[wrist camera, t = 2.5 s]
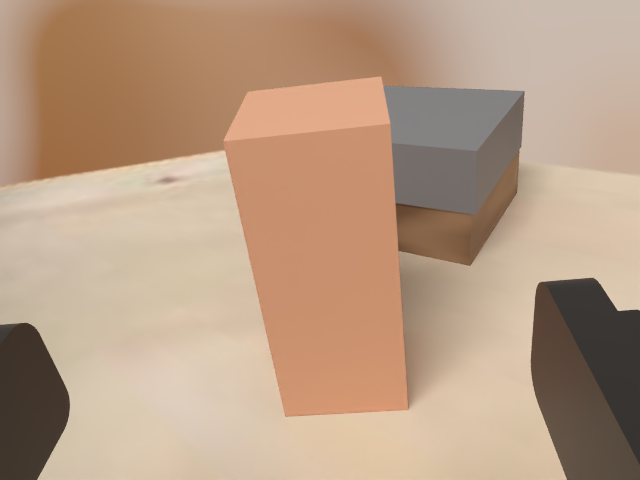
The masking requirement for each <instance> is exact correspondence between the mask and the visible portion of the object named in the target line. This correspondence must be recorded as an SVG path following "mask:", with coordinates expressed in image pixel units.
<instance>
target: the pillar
mask: <svg viewBox="0 0 640 480" xmlns="http://www.w3.org/2000/svg"><path fill="white" fill-rule="evenodd" d="M223 143H224V147H225V152H226V156H227V161H228V165H229V170H230V174H231V178H232V183H233V187H234V192H235V196H236V200H237V205H238V209H239V214H240V218H241V223H242V227H243V231H244V236H245V240H246V245H247V249H248V253H249V258H250V262H251V267H252V271H253V276H254V280H255V284H256V289H257V293H258V298H259V302H260V306H261V311H262V315H263V320H264V324H265V328H266V333H267V337H268V342H269V346H270V351H271V355H272V359H273V364H274V368H275V373H276V377H277V381H278V386H279V390H280V395H281V399H282V404H283V408H284V412H285V416H301V415H319V414H337V413H355V412H373V411H391V410H408V397H407V381H406V365H405V349H404V333H403V317H402V301H401V285H400V269H399V253H398V237H397V221H396V205H395V189H394V173H393V157H392V141H391V125H390V119H389V114H388V109H387V104H386V98H385V93H384V88H383V83H382V79H381V77H374V78H365V79H356V80H347V81H338V82H329V83H320V84H312V85H303V86H295V87H285V88H277V89H268V90H259V91H251V92H248V93H247V95H246V97H245V99H244V101H243V103H242V105H241V107H240V109H239V111H238V113H237V115H236V117H235V119H234V121H233V123H232V125H231V127H230V129H229V131H228V133H227V135H226V137H225V139H224V141H223Z"/></svg>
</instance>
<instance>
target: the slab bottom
mask: <svg viewBox="0 0 640 480" xmlns="http://www.w3.org/2000/svg"><path fill="white" fill-rule="evenodd" d="M518 166H519V151H518V152H517V154H516V155H515V157H514V158H513V160H512V161H511V163H510V164H509V166H508V167H507V169H506V170H505V172H504V173H503V175H502V176H501V178H500V179H499V181H498V182H497V184H496V185H495V187H494V188H493V190H492V191H491V193H490V194H489V196H488V197H487V199H486V200H485V202H484V203H483V205H482V206H481V208H480V210H479V211H478V213H477V214H476V215H472V214H465V213H458V212H452V211H445V210H439V209H432V208H425V207H419V206H412V205H405V204H399V203H395V205H396V221H397V237H398V251H402V252H407V253H412V254H417V255H421V256H426V257H431V258H436V259H440V260H445V261H450V262H455V263H460V264H464V265H469V266H470V265H471V264H472V262H473V261H474V259H475V257H476V256H477V254H478V253H479V251H480V250H481V248H482V246H483V245H484V243H485V242H486V240H487V239H488V237H489V236H490V234H491V232H492V231H493V229H494V228H495V226H496V225H497V223H498V221H499V220H500V218H501V217H502V215H503V214H504V212H505V210H506V209H507V207H508V206H509V204H510V203H511V201H512V199H513V198H514V196H515V195H516V193H517V182H518Z"/></svg>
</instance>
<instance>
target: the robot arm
mask: <svg viewBox="0 0 640 480" xmlns="http://www.w3.org/2000/svg"><path fill="white" fill-rule="evenodd" d="M531 373H532V381H533V386H534V391H535V395H536V398H537V401H538V404H539V407H540V410H541V412H542V415H543V417H544V420H545V423H546V425H547V428H548V431H549V433H550V436H551V438H552V441H553V444H554V446H555V449H556V452H557V454H558V457H559V459H560V462H561V465H562V467H563V470H564V473H565V475H566V478H567V480H640V311H639V310H626V311H617V309H616V308H615V306H614V304H613V303H612V301H611V300H610V298H609V297H608V295H607V294H606V292H605V291H604V289H603V288H602V286H601V285H600V284H599V282H598V281H597V280H596V279H594V278H584V279H572V280H560V281H548V282H540V283H539V284H538V286H537V289H536V295H535V309H534V323H533V337H532V351H531ZM69 410H70V401H69V395H68V391H67V389H66V387H65V384H64V382H63V380H62V378H61V376H60V374H59V372H58V370H57V368H56V366H55V364H54V362H53V360H52V358H51V356H50V354H49V352H48V350H47V348H46V346H45V344H44V342H43V340H42V338H41V336H40V334H39V332H38V331H37V329H36V328H35V327H34V326H32V325H31V324H28V323H18V324H6V325H0V480H37V479H38V477H39V475H40V473H41V471H42V470H43V468H44V466H45V464H46V462H47V460H48V459H49V457H50V455H51V453H52V451H53V449H54V447H55V446H56V444H57V442H58V440H59V438H60V436H61V435H62V433H63V431H64V429H65V427H66V424H67V421H68V417H69Z"/></svg>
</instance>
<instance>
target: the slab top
mask: <svg viewBox="0 0 640 480" xmlns="http://www.w3.org/2000/svg"><path fill="white" fill-rule="evenodd" d="M383 88H384V93H385V98H386V104H387V109H388V114H389V119H390V125H391V141H392V157H393V173H394V189H395V203H399V204H405V205H412V206H419V207H425V208H432V209H439V210H445V211H452V212H458V213H465V214H472V215H476V214H477V213H478V211H479V210H480V208H481V206H482V205H483V203H484V202H485V200H486V199H487V197H488V196H489V194H490V193H491V191H492V190H493V188H494V187H495V185H496V184H497V182H498V181H499V179H500V178H501V176H502V175H503V173H504V172H505V170H506V169H507V167H508V166H509V164H510V163H511V161H512V160H513V158H514V157H515V155H516V154H517V152H518V151H519V149H520V148H521V141H522V125H523V124H522V123H523V108H524V91H504V90H481V89H478V90H477V89H455V88H429V87H404V86H402V87H401V86H384V87H383Z"/></svg>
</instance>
